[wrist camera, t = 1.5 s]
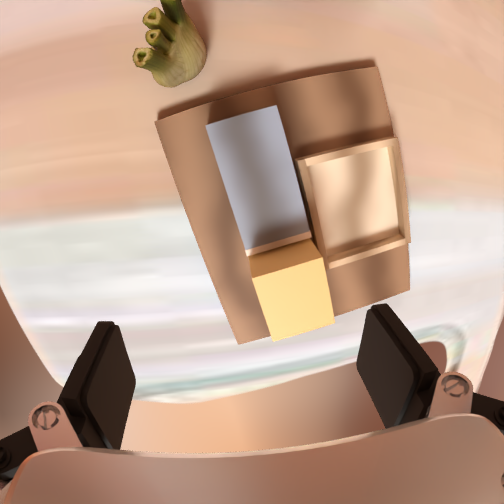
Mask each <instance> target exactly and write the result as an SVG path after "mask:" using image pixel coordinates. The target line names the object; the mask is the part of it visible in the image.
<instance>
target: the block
mask: <svg viewBox="0 0 504 504" xmlns="http://www.w3.org/2000/svg"><path fill="white" fill-rule="evenodd" d="M248 258H249V264H250V270H251V277H252V281H253V284H254V287H255V290H256V293H257V296H258V299H259V302H260V305H261V308H262V310H263V313H264V316H265V319H266V322H267V325H268V328H269V331H270V334H271V337H272V340H273V342H274V341H277V340H281V339H284V338H288V337H291V336H294V335H298V334H301V333H304V332H308V331H311V330H314V329H317V328H321V327H324V326H327V325H330V324H333V323H335V320H334V314H333V308H332V303H331V297H330V292H329V287H328V282H327V277H326V272H325V267H324V262H323V257H322V256H321V254H320V253H319V251H318V250H317V248H316V247H315V245H314V244H313V242H312V241H311V239H310V238H307V239H304V240H301V241H297V242H294V243H290V244H287V245H284V246H280V247H277V248H274V249H270V250H267V251H264V252H260V253H257V254H254V255H250V256H248Z"/></svg>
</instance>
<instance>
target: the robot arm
mask: <svg viewBox="0 0 504 504" xmlns="http://www.w3.org/2000/svg"><path fill="white" fill-rule="evenodd" d="M357 370H358V372H359V374H360V376H361V378H362V380H363V382H364V384H365V386H366V388H367V390H368V392H369V394H370V396H371V398H372V401H373V402H374V405H375V407H376V409H377V411H378V413H379V415H380V417H381V419H382V421H383V423H384V426H385V428H386V429H382V430H379V431H374V432H370V433H366V434H362V435H357V436H352V437H347V438H343V439H338V440H332V441H327V442H322V443H315V444H308V445H301V446H294V447H287V448H278V449H269V450H258V451H245V452H227V453H159V452H141V451H126V450H120V447H121V443H122V438H123V434H124V429H125V426H126V421H127V417H128V413H129V409H130V405H131V401H132V397H133V393H134V389H135V385H136V379H135V375H134V372H133V369H132V366H131V363H130V360H129V357H128V354H127V351H126V348H125V344H124V341H123V338H122V335H121V331H120V328H119V326H118V325H115V324H114V322H112V321H99V322H98V323H97V324H96V326H95V328H94V330H93V332H92V334H91V336H90V338H89V340H88V342H87V344H86V346H85V347H84V349H83V351H82V353H81V355H80V356H79V357H78V359H77V361H76V363H75V365H74V367H73V369H72V371H71V373H70V375H69V377H68V379H67V381H66V383H65V386H64V388H63V390H62V392H61V394H60V397H59V399H58V401H57V403H55V402H44V403H40V404H39V405H37V406H35V407H34V408H33V409H32V411H31V412H30V414H29V417H28V424H29V426H28V427H26V428H24V429H22V430H20V431H18V432H16V433H14V434H12V435H10V436H8V437H6V438H4V439H1V440H0V504H504V402H503V401H500V400H497V399H493V398H490V397H487V396H483V395H480V394H477V393H474V392H473V385H472V383H471V381H470V380H469V379H468V378H467V377H466V376H464V375H463V374H460V373H458V372H446V373H444V374H442V375H441V374H440V373H439V371H438V368H437V367H436V366H435V364H434V363H433V362H432V360H431V359H430V358H429V356H428V355H427V354H426V352H425V351H424V350H423V348H422V347H421V346H420V344H419V343H418V342H417V341H416V339H415V338H414V337H413V335H412V334H411V333H410V332H409V330H408V329H407V328H406V326H405V325H404V324H403V323H402V321H401V320H400V319H399V318H398V316H397V315H396V314H395V313H394V311H393V310H392V309H391V308H390V307H389V305H388V304H377V305H373V306H372V307H371V309H369V310H368V311H367V314H366V319H365V324H364V329H363V334H362V339H361V344H360V349H359V353H358V358H357Z"/></svg>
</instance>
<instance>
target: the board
mask: <svg viewBox="0 0 504 504" xmlns="http://www.w3.org/2000/svg"><path fill="white" fill-rule="evenodd" d="M155 125H156V128H157V131H158V134H159V137H160V140H161V143H162V146H163V149H164V152H165V155H166V158H167V161H168V164H169V167H170V169H171V172H172V175H173V178H174V181H175V184H176V186H177V189H178V192H179V195H180V198H181V200H182V203H183V206H184V209H185V211H186V214H187V217H188V219H189V222H190V225H191V227H192V230H193V233H194V235H195V238H196V241H197V243H198V246H199V249H200V251H201V254H202V256H203V259H204V262H205V264H206V267H207V269H208V272H209V274H210V277H211V279H212V282H213V284H214V287H215V289H216V292H217V294H218V297H219V299H220V302H221V304H222V307H223V309H224V312H225V314H226V316H227V319H228V321H229V324H230V326H231V328H232V331H233V333H234V336H235V338H236V340H237V343H238V345H239V344H243V343H247V342H250V341H254V340H258V339H261V338H265V337H269V336H271V334H270V331H269V328H268V325H267V322H266V319H265V316H264V313H263V310H262V308H261V305H260V302H259V299H258V296H257V293H256V290H255V287H254V284H253V281H252V277H251V270H250V264H249V258H248V256H250V255H254V254H257V253H260V252H264V251H267V250H270V249H274V248H277V247H280V246H284V245H287V244H290V243H294V242H297V241H301V240H304V239H307V238H310V239H311V241H312V242H313V244H314V245H315V247H316V248H317V250H318V251H319V253H320V254H321V256H322V257H323V262H324V267H325V272H326V277H327V282H328V287H329V292H330V297H331V303H332V308H333V314H334V317H335V316H338V315H341V314H344V313H347V312H350V311H353V310H355V309H358V308H361V307H364V306H367V305H370V304H373V303H375V302H378V301H381V300H384V299H387V298H389V297H392V296H395V295H397V294H400V293H403V292H405V291H408V290H410V274H409V253H408V243H411V237H410V224H409V213H408V204H407V195H406V187H405V180H404V173H403V166H402V160H401V154H400V148H399V142H398V137H394V135H393V129H392V125H391V120H390V115H389V111H388V106H387V102H386V98H385V94H384V90H383V86H382V82H381V78H380V75H379V71H378V67H369V68H361V69H354V70H347V71H340V72H334V73H328V74H322V75H317V76H311V77H306V78H301V79H296V80H292V81H287V82H283V83H278V84H274V85H270V86H266V87H262V88H258V89H254V90H250V91H247V92H243V93H239V94H236V95H232V96H229V97H225V98H222V99H219V100H216V101H212V102H209V103H206V104H203V105H200V106H197V107H194V108H191V109H188V110H185V111H182V112H179V113H177V114H174V115H171V116H168V117H166V118H163V119H160V120H158V121H155Z"/></svg>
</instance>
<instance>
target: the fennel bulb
mask: <svg viewBox="0 0 504 504" xmlns="http://www.w3.org/2000/svg"><path fill="white" fill-rule="evenodd" d="M160 1H161V4H162V7H163V10H164V13H165V14H164V13H163V12H162V11H161V10H160V9H159V8H157V7H154V8H152V9H151V10H149V11H148V12H147V13H146V14H145V15H144V17H143V23H144V24H145V25H146V26H147V27H148V28H149V29H151V30H149V31H147V32H146V41H147V42H148V43H149V45H151V46H152V48H136V49H135V51H134V55H133V61H134V63H135V65H136V66H137V67H140V68H144V69H147V70H149V71H151V72H152V74H153V77H154V79H155V81H156V82H157V83H158V84H160V85H162V86H164V87H175V86H178V85H180V84H182V83H184V82H186V81H189V80H191V79H193V78H195V77H196V76H197V75H198V74H199V73H200V72H201V70H202V69H203V67H204V65H205V62H206V57H207V54H206V47H205V44H204V42H203V40H202V38H201V36H200V34H199V32H198V31H197V29H196V27H195V26H194V24H193V22H192V20H191V19H190V17H189V16H188V15H187V13H186V12H185V10H184V8H183V6H182V3H181V0H160Z"/></svg>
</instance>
